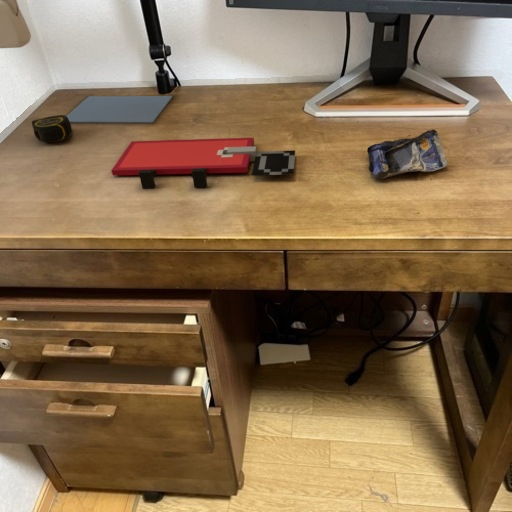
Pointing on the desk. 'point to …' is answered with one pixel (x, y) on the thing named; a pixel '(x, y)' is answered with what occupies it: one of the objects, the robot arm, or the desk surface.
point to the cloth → (119, 109)
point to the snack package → (406, 155)
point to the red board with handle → (200, 159)
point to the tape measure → (52, 128)
